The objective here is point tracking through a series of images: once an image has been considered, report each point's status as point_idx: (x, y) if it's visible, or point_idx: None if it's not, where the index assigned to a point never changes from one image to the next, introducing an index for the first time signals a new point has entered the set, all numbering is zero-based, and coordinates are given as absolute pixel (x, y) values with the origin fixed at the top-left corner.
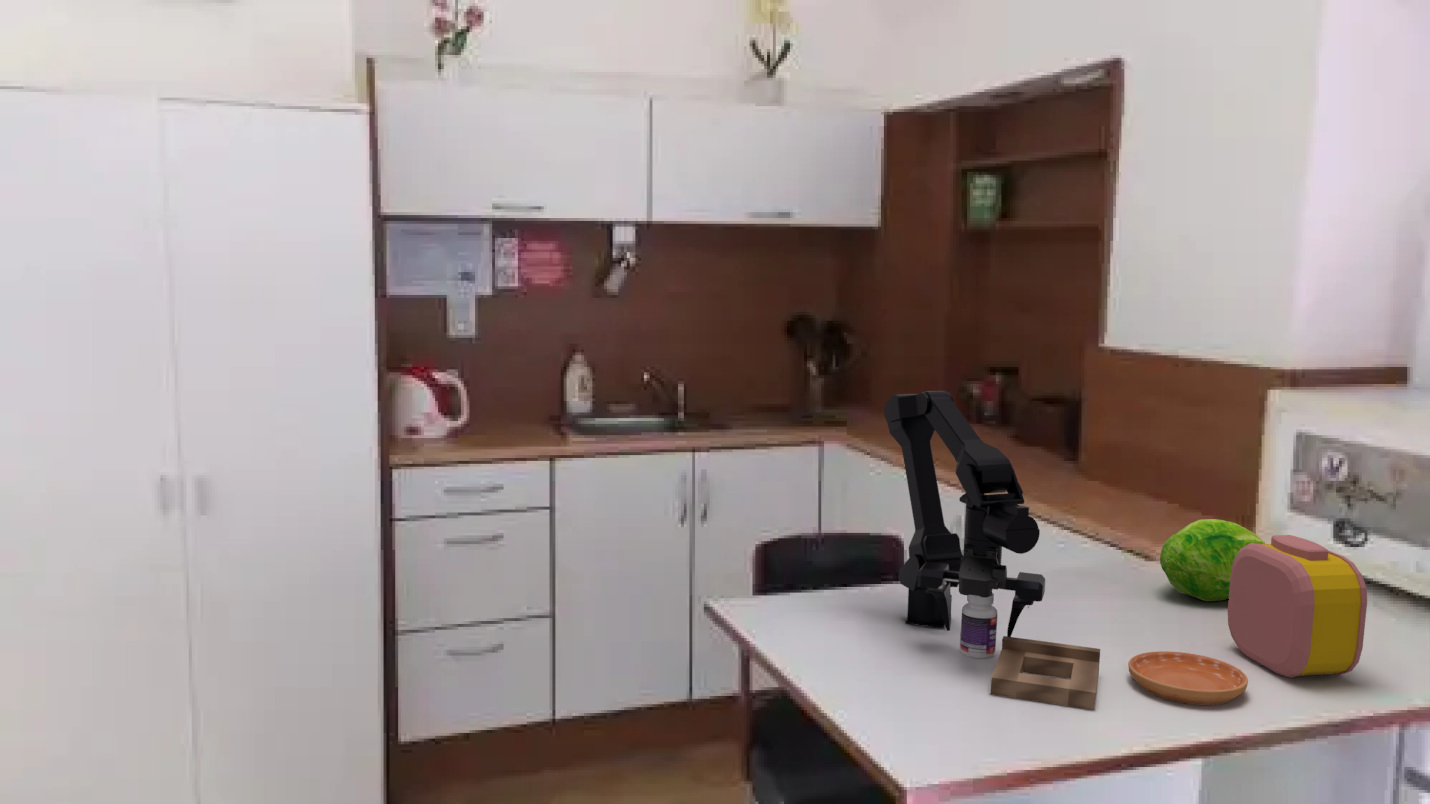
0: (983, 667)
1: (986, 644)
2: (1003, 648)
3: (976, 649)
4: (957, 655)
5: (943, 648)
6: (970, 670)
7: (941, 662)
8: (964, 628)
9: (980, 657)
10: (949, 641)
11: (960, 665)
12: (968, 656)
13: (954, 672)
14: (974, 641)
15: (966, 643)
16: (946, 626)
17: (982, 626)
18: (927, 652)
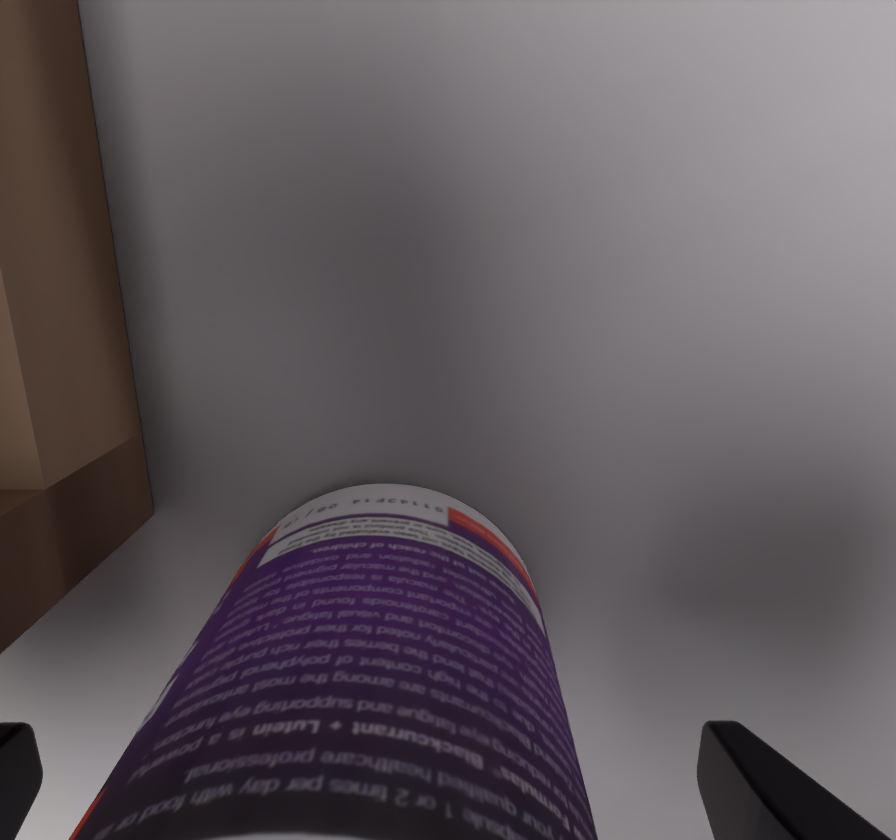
0: (270, 297)
1: (250, 573)
2: (24, 493)
3: (363, 515)
4: (544, 504)
5: (678, 616)
6: (370, 157)
7: (670, 264)
8: (527, 699)
9: (335, 492)
10: (642, 774)
11: (484, 259)
12: (445, 496)
13: (514, 19)
14: (377, 553)
15: (475, 562)
16: (769, 754)
17: (226, 713)
18: (813, 472)
